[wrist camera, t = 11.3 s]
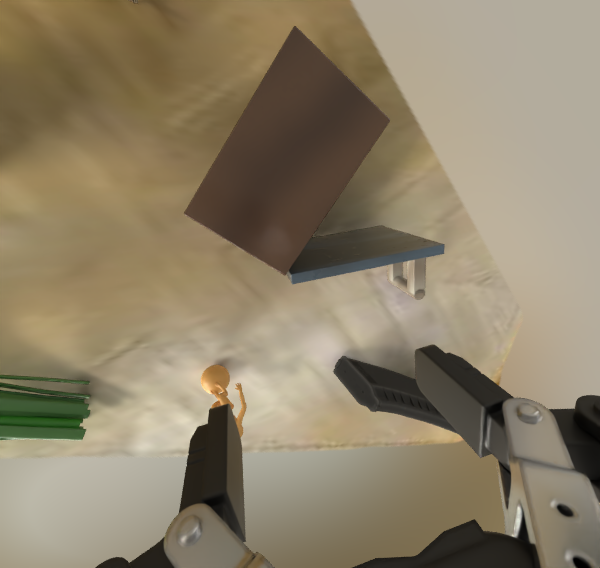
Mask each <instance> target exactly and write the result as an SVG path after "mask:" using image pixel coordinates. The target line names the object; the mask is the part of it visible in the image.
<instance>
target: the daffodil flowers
mask: <svg viewBox="0 0 600 568" xmlns="http://www.w3.org/2000/svg"><path fill="white" fill-rule="evenodd" d="M0 378H1V379H20V380H38V381H52V382H64V383H77V384H89V383H90V381H79V380H68V379H56V378H45V377H28V376H11V375H0ZM0 387H3V388H9V389H16V390H22V391H28V392H35V393H41V394H49V395H58V396H67V397H76V398H67V397H57V396H46V395H37V394H29V393H20V392H11V391H3V390H0V440H16V439H45V440H82V439H83V437H84V434H85V432H86V429H83V427H82V426H79V425H80V423H82V422H83V419H87V418H88V416H89V413H90V411H91V410H87V409H88V406H89V404H85V403H84V400H85V399H89V398H90V395H85V394H77V393H68V392H59V391H51V390H43V389H37V388H31V387H25V386H19V385H12V384H6V383H0ZM78 398H85V399H78Z"/></svg>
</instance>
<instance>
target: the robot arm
mask: <svg viewBox="0 0 600 568" xmlns="http://www.w3.org/2000/svg"><path fill="white" fill-rule="evenodd" d="M415 373H416V382H417V385H418V387H419V389H420V391H421V392H422V393H423V395H424V396H425V397H426V398H427V399H428V400H429V401H430V402H431V403H432V405H433V406H434V407H435V408H436V409H437V410H438V411H439V412H440V413H441V415H442V416H443V417H444V418H445V419H446V420H447V421H448V422H449V423H450V424H451V426H452V427H453V428H454V429H455V430H456V431H457V432H458V433H459V434H460V436H461V437H462V438H463V439H464V440H465V441H466V442H467V443H468V444H469V446H470V447H472V449H473V450H474V451H475V452H476V453H477V454H478V456H479V457H480V458H481V457H484V456H487V455H490V454H493V455H494V456H495V457H496V458H497V471H498V477H499V485H500V491H501V498H502V505H503V510H504V519H505V534H502V533H497V532H489V531H483V530H482V529H481V527H480V526H479V524H478V523H477V522H476V520H472V521H469V522H467V523H464V524H461V525H459V526H456V527H454V528H452V529H449V530H446V531H444V532H443V533H442V534H440V535H439V536H438V537H437V538H436V539H435V540H434V541H433V542H432V543H430V544H429V545H428V546H427V547H426V548H425V549H424V550H423V551H422V552H420V553H419V554H418V555H416V556H413V557H394V558H375V559H373V560H370V561H368V562H365V563H363V564H360V565H358V566H355V567H353V568H600V504H599V503H600V396H595V395H586V396H582V397H580V398H578V399H577V401H576V405H575V409H547V408H546V407H545V406H543V405H542V404H540V403H537V402H535V401H532V400H529V399H525V398H514V397H512V396H511V395H510V394H509V393H507V392H506V391H505V390H503V389H502V388H501V387H499V386H498V385H497V384H496V383H494V382H493V381H492V380H490V379H489V378H488V377H486V376H485V375H484V374H481V372H480V371H479V370H477V369H476V368H475V367H474V368H473V366H472V365H471V364H469V363H468V362H467V361H465V360H464V359H463V358H461V357H459V356H456V355H454V354H451V353H444V352H443V351H442V350H441V349H439V348H438V347H437V346H435V345H429V346H426V347H422V348H419V349H416V351H415ZM245 539H246V538H245V515H244V490H243V464H242V445H241V439H240V434H239V430H238V427H237V424H236V421H235V418H234V415H233V412H232V409H231V406H230V404H229V403H228V404H224V405H221V406H217V407H214V408H211V409H210V410H209V417H208V424H206V425H202V426H199V427H198V428H197V429H196V431H195V433H194V435H193V436H192V438H191V440H190V447H189V455H188V459H187V467H186V472H185V479H184V485H183V491H182V498H181V504H180V510H179V514H178V515H177V516H176V517H175V518H174V520H173V521H172V523H171V524H170V526H169V527H168V529H167V532H166V535H165V537H164V538H163V539H162V540H161V541H160V542H158V543H157V544H156V545H155V546H153V547H152V548H150V549H149V550H147V551H146V552H145V553H143V554H142V555H140V556H139V557H137V558H136V559H135V560H133V561H132V562H130V563H129V562H128V561H127V560H125V559H124V558H120V557H115V558H111V559H109V560H106V561H104V562H103V563H101V564H100V565H98V566H97V567H96V568H275V567H273V565H272V564H271V563H270V562H269V561H268V560H267V559H266V558H265V557H264V556H263V555H262V554H260V553H258V552H256V553H253V552H252V551H251V550H249V548H248V547H247V546H246V545H245V544H244V543H243V542H245V541H246V540H245Z"/></svg>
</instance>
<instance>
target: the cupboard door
mask: <svg viewBox="0 0 600 568" xmlns="http://www.w3.org/2000/svg"><path fill="white" fill-rule="evenodd" d="M440 254H444V244H441V243H438V242H434V241H431V240H428V239H424V238H421V237H418V236H414V235H411V234H408V233H404V232H401V231H398V230H394V229H391V228H387V227H384V226H376V227H371V228H365V229H360V230H354V231H348V232H343V233H337V234H332V235H326V236H320V237H315V238H310V240H309V241H308V243H307V244H306V246H305V247H304V249H303V250H302V251H301V253H300V254H299V256H298V257H297V259H296V260H295V262H294V263H293V265H292V266H291V268H290V269H289V271H288V272H287V276H288V278H289V279H290V281H291V283H292V284H296V283H301V282H306V281H311V280H316V279H321V278H326V277H331V276H336V275H341V274H346V273H351V272H356V271H361V270H366V269H371V268H375V267H380V266H385V265H387V276H388V281H389V282H390V283H391V284H393V285H394V286H396V287H397V288H399V289H401V290H402V291H404V292H405V293H407V294H408V295H410V296H411V297H413V298H415V299H416V300H420V299H422V298H423V297H424V295H425V272H426V257H430V256H435V255H440ZM405 261H407V279H405V278H403V262H405Z"/></svg>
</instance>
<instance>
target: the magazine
mask: <svg viewBox="0 0 600 568" xmlns="http://www.w3.org/2000/svg"><path fill="white" fill-rule="evenodd" d="M334 374H335V375H336V376H337V377H338V378H339V380H340V381H341V382H342V383H343V385H344V386H345V387H346V388H347V389H348V391H349V392H350V393H351V394H352V396H353V397H354V398H355V399H356V400H357V402H358V403H359V404H361V405H364V406H366V407H368V408H369V409H370V411H372V412H376V411H382V412H389V413H394V414H399V415H402V416H406V417H409V418H413V419H417V420H420V421H424V422H427V423H430V424H433V425H436V426H439V427H441V428H444V429H447V430H450V431H452V432H455V433H457V434H459V433H458V432H457V431H456V430H455V429H454V428H453V427H452V426H451V424H450V423H449V422H448V421H447V420H446V419H445V418H444V417H443V416H442V415H441V413H440V412H439V411H438V410H437V409H436V408H435V407H434V406H433V405H432V403H431V402H430V401H429V400H428V399H427V398H426V397H425V396H424V395H423V393H422V392H421V391H420V389H419V387H418V385H417V382H416V380H415V379H412V378H410V377H407V376H404V375H401V374H399V373H396V372H393V371H390V370H387V369H384V368H381V367H377V366H374V365H370V364H367V363H364V362H360V361H357V360H353V359H350V358H347V357H346V356H342V357H341V359H339V360H338V362H337V364H336V365H335V369H334ZM459 435H460V434H459Z"/></svg>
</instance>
